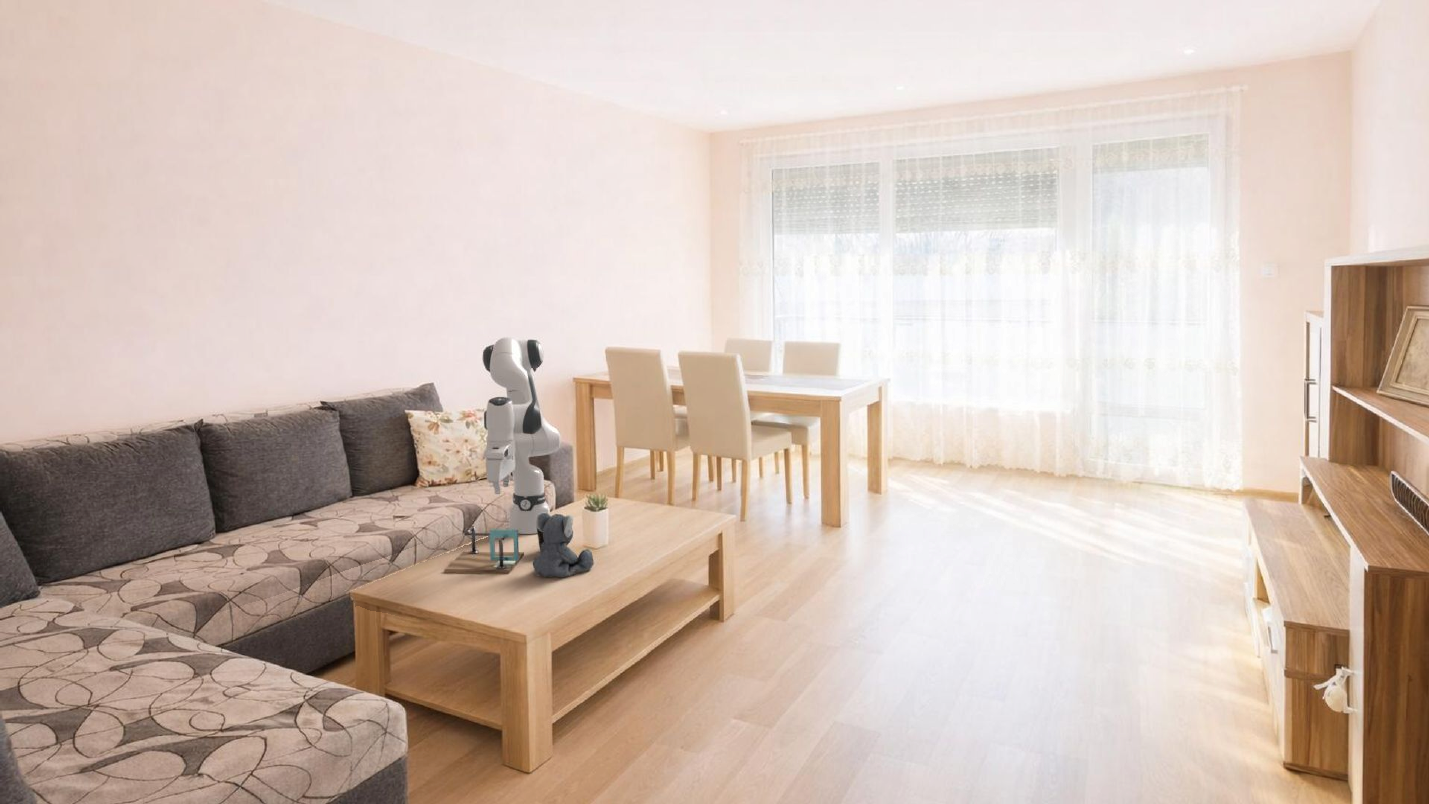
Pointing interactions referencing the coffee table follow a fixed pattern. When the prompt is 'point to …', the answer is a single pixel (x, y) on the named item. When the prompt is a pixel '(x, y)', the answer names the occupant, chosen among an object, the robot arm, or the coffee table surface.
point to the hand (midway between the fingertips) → (502, 490)
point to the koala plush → (559, 548)
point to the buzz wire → (478, 551)
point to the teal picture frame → (504, 534)
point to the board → (481, 563)
